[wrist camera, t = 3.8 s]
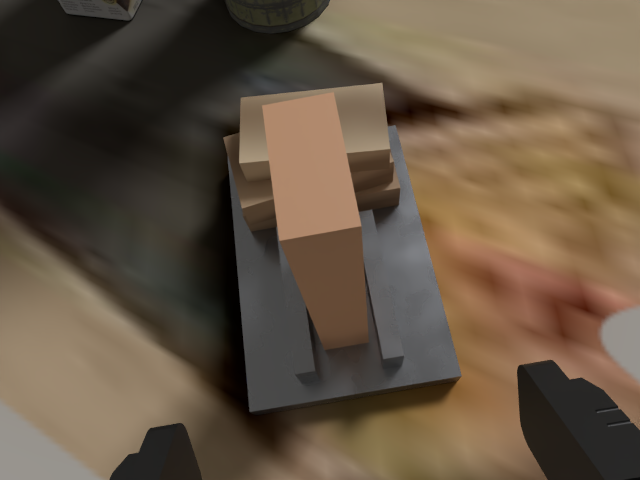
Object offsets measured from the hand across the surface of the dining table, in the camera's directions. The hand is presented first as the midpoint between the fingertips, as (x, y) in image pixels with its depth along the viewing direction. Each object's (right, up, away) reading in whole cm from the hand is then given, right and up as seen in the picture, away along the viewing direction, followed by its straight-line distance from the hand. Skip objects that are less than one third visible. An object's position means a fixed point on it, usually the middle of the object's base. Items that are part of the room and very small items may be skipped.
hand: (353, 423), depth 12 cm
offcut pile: (-1, +8, +20) cm, 21 cm away
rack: (0, +3, +19) cm, 19 cm away
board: (0, +1, +16) cm, 16 cm away
